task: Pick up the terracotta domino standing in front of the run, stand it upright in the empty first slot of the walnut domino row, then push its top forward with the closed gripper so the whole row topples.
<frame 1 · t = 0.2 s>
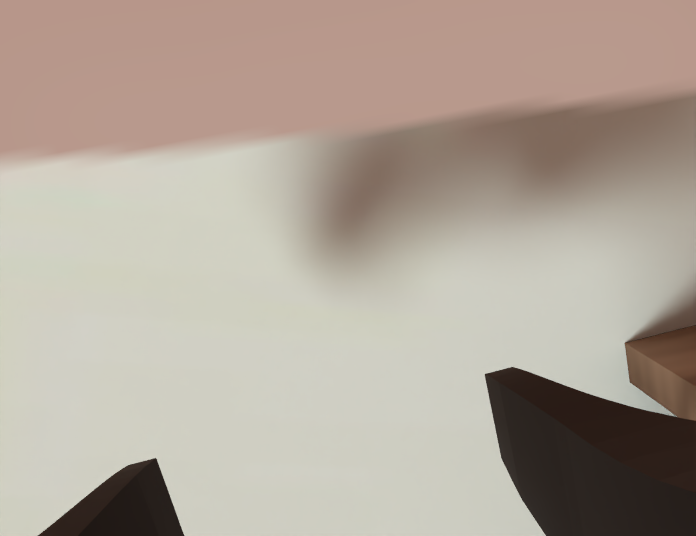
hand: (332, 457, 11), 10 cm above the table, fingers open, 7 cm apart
tile 5: (685, 348, 22), on the table
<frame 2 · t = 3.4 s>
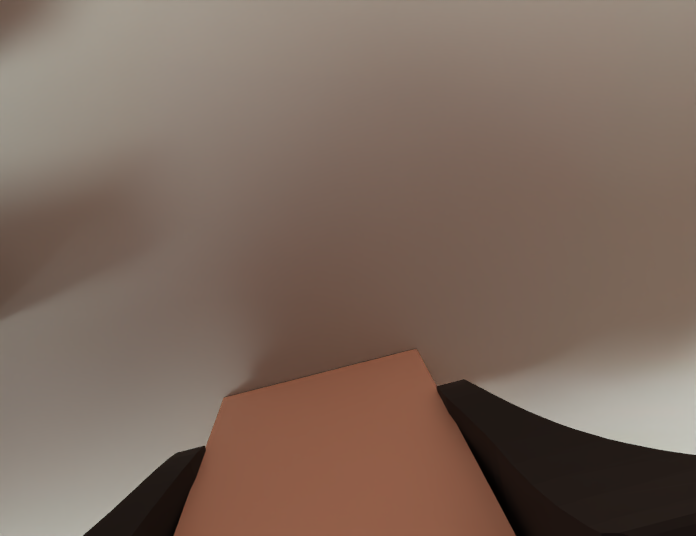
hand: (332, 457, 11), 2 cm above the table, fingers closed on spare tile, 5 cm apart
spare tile: (329, 404, 14), on the table, touching gripper
when the fingers open (3 cm above the table, at t = 7.9 s): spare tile stays where it is, on the table.
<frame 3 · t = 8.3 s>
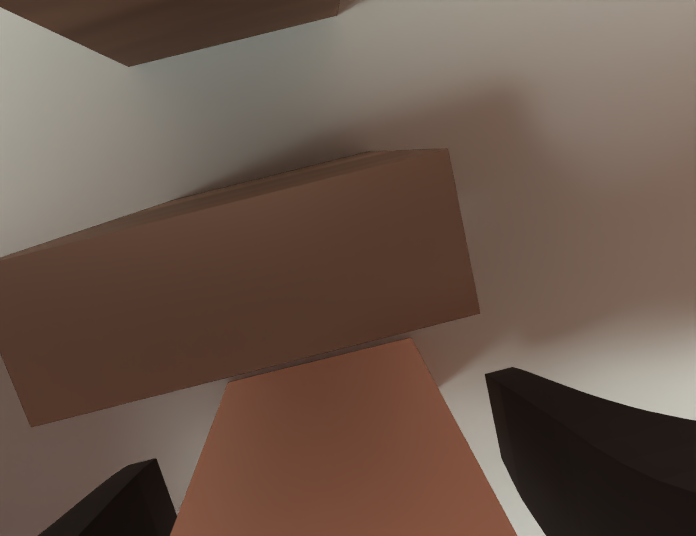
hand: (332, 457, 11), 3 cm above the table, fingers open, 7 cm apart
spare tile: (327, 390, 15), on the table
tile 3: (221, 0, 12), on the table
tile 2: (279, 211, 13), on the table
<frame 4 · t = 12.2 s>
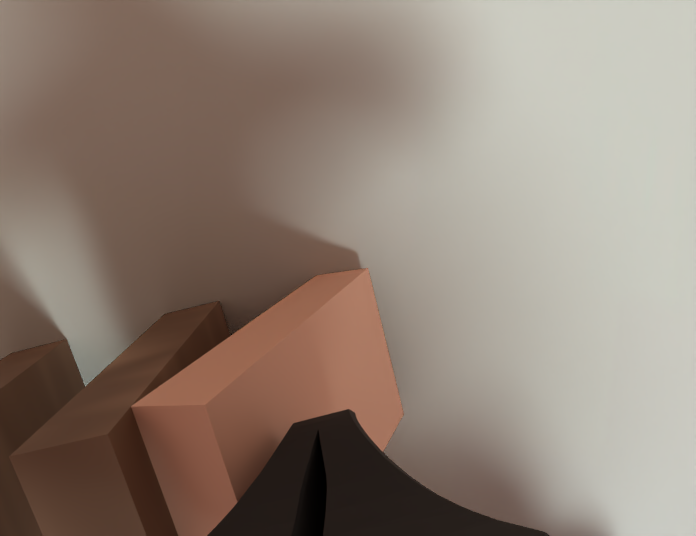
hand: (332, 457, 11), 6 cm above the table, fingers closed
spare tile: (360, 345, 17), on the table, tilted 27°
tile 3: (66, 416, 18), on the table
tile 2: (215, 378, 18), on the table
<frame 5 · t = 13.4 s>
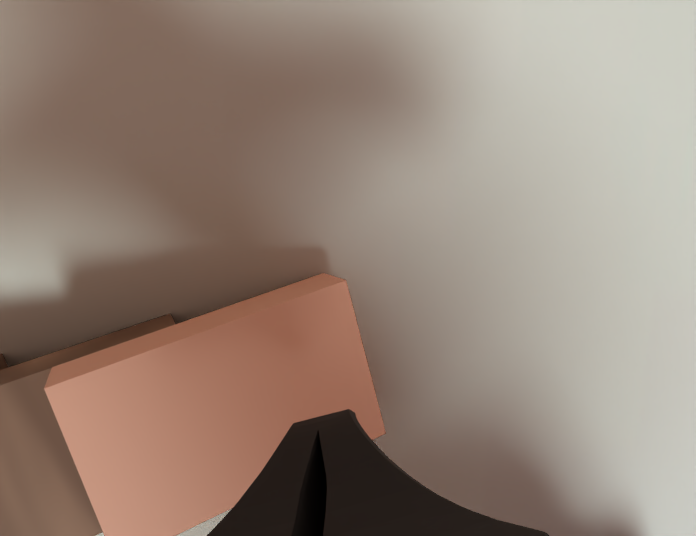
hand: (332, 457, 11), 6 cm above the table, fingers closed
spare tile: (354, 351, 17), point 1 cm above the table, tilted 70°, touching tile 2
tile 2: (197, 393, 17), point 1 cm above the table, tilted 70°, touching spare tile, tile 3
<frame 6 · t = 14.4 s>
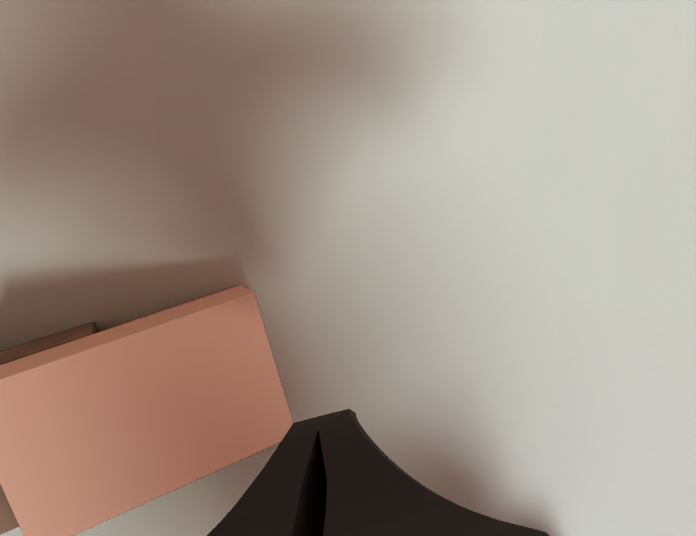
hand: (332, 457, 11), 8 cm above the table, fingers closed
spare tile: (268, 358, 18), point 1 cm above the table, tilted 70°, touching tile 2
tile 2: (118, 396, 18), point 1 cm above the table, tilted 71°, touching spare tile, tile 3
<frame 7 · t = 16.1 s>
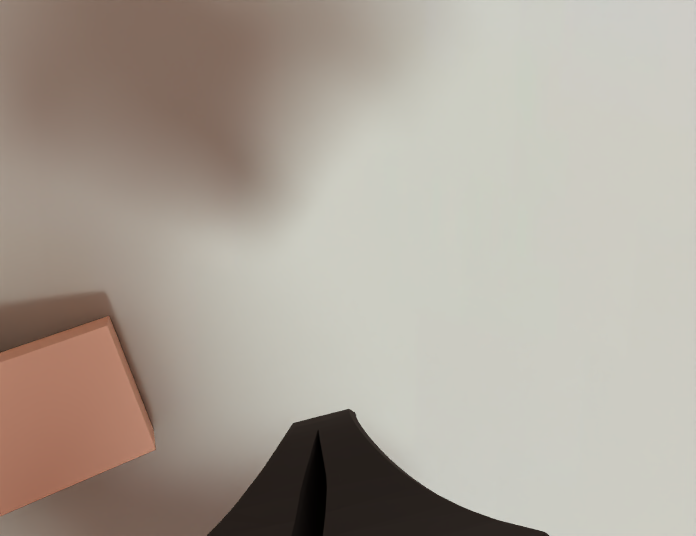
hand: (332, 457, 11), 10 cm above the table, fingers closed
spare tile: (132, 381, 20), point 1 cm above the table, tilted 71°, touching tile 2
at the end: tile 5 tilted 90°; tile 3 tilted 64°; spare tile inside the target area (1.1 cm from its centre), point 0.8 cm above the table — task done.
